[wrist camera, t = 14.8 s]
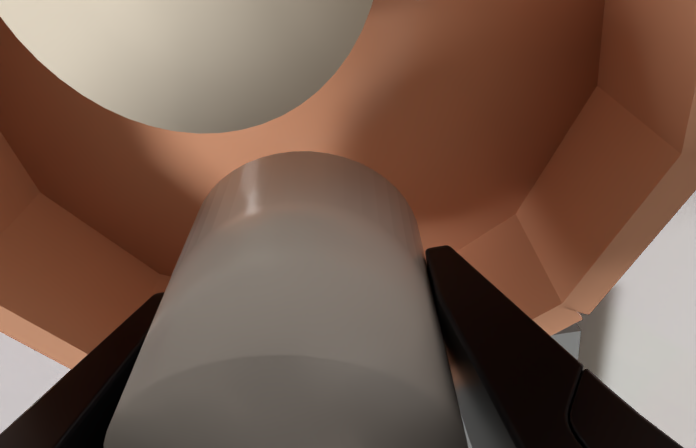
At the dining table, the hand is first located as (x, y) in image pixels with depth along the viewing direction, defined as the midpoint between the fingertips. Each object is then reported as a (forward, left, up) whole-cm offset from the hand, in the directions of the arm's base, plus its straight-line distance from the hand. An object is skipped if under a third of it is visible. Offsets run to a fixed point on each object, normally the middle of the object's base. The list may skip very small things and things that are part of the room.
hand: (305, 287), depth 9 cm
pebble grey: (0, 0, -1) cm, 1 cm away
